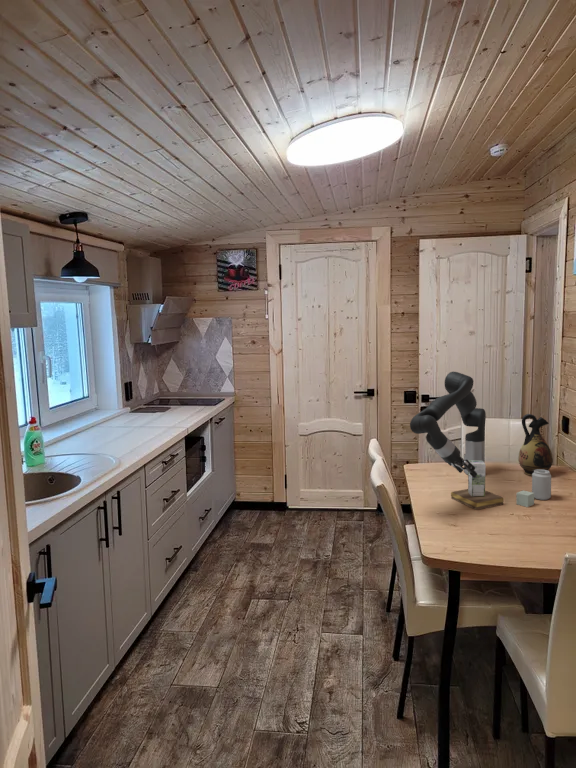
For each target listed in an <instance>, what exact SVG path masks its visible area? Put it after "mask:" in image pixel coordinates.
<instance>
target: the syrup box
mask: <svg viewBox="0 0 576 768" xmlns="http://www.w3.org/2000/svg"><path fill="white" fill-rule="evenodd" d="M469 462H470V463H471V464H472V465H473V466H474V467H475V470H474V471H475V472H476V473H477V476H476V477H475V478H474V477H472V476H471V474H470V473H469V472H468V476H467V477H468V479H467V480H468V483H467V486H468V487H467V489H468V493H469V494H470V495H471V496H472V497H475V496H485V491H486V463H484V462H483V461H481V460H480V461H469Z"/></svg>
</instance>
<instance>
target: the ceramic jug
mask: <svg viewBox="0 0 576 768" xmlns="http://www.w3.org/2000/svg"><path fill="white" fill-rule="evenodd" d="M529 419H531V420H532V421H531V422H530V423H529V424H528V428H531V432H530V433H529V430H528V428H527V424H526V421H527V420H529ZM521 425H522V429H523V431H524V432H523V433H524V434H525V437H524V442H523V443H522V445H521V446H520V449H519V452H518V458H517V459H518V464H519V466H520V468H522V470H523V471H524V475H527V476H530V477H532V474H533V473H534V470H537V469H543V470H548V471H549V470H550V469H551V467H552V466H553V464H554V463H553V460H554V458H553V453H552V450H551V447H550V446H549V444H548V443H547V441H546V440H545V438H544V437H543V435H542V434H541V431H540V429H541V428H542V427H544V426H547V425H549V422H548V421H547V419H545V418H543V417H539V418H538V419H537V417H536V416H535V415H534V414H533V413H532V414H531V413H527V414H524V415H523V416H522V418H521Z"/></svg>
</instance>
